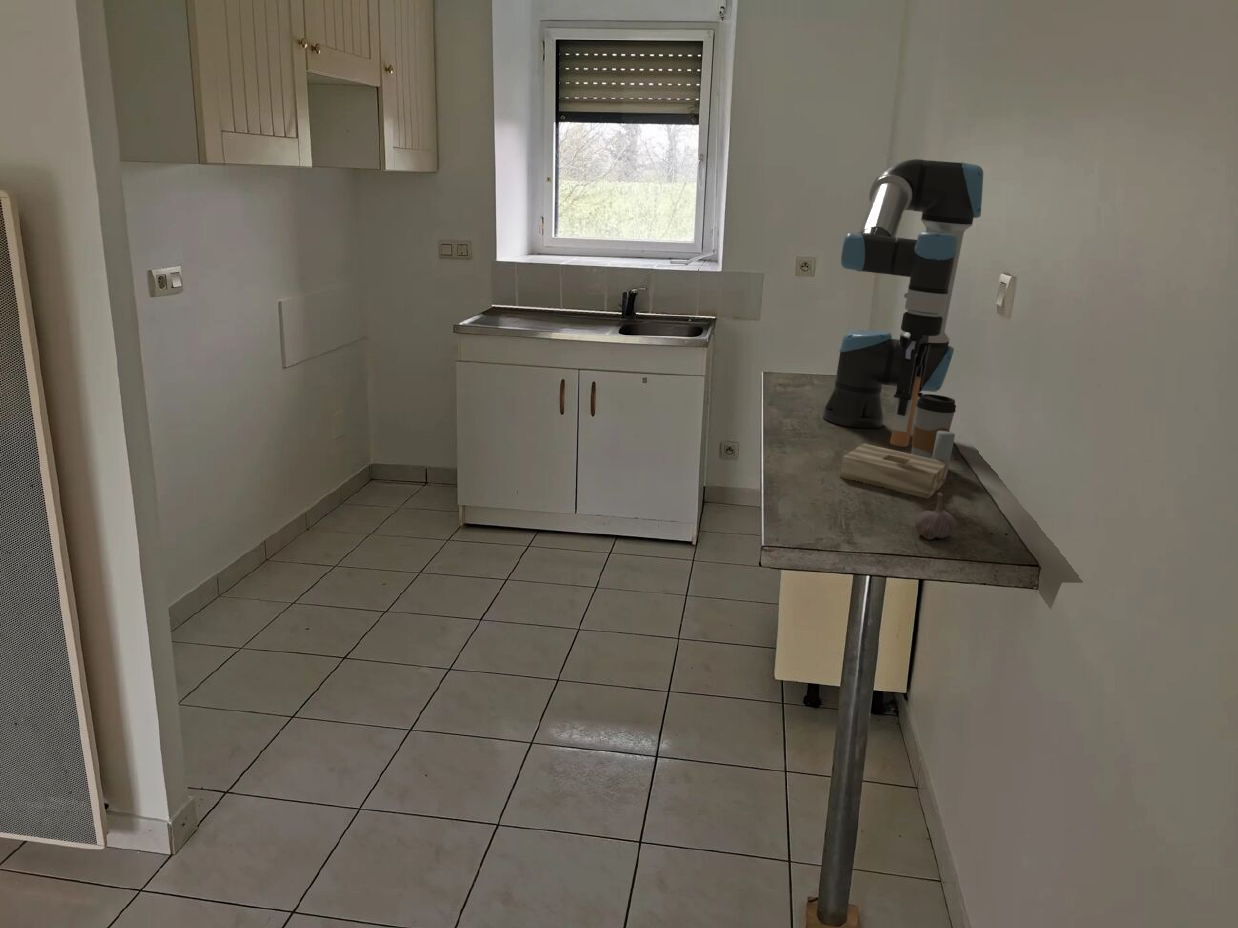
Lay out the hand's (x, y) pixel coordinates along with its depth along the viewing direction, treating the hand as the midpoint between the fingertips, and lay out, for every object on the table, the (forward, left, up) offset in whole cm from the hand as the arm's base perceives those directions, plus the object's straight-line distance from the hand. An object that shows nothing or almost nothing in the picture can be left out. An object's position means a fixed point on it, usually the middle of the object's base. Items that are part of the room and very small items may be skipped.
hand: (902, 428), depth 194 cm
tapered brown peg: (0, 0, -3) cm, 3 cm away
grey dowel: (-9, +7, -11) cm, 16 cm away
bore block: (0, 0, -11) cm, 11 cm away
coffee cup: (-19, +2, -11) cm, 22 cm away
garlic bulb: (+28, +15, -11) cm, 34 cm away
